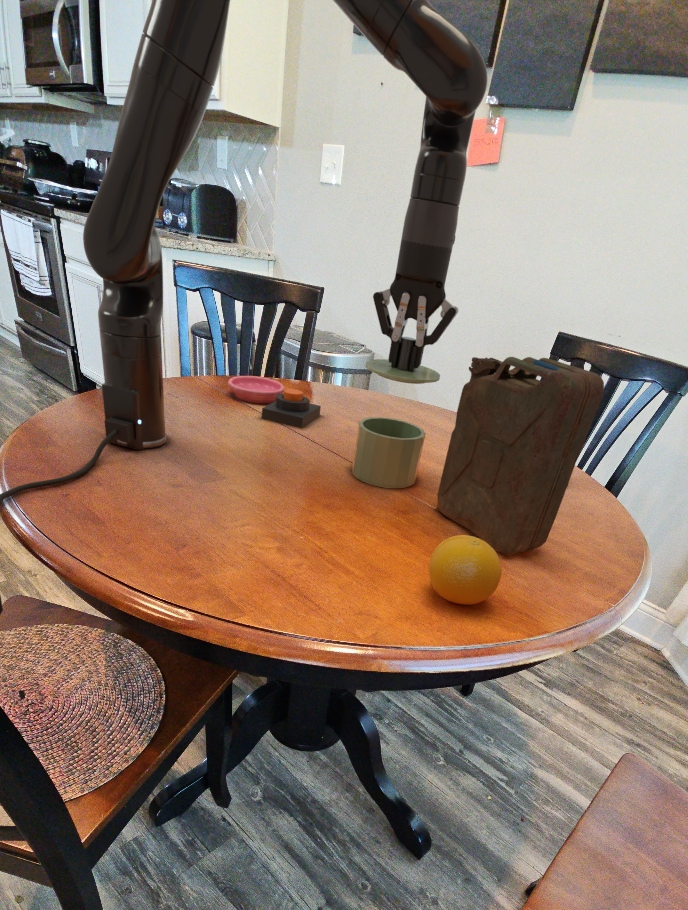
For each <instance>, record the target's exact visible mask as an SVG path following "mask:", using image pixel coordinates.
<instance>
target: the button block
mask: <svg viewBox="0 0 688 910" xmlns="http://www.w3.org/2000/svg"><path fill="white" fill-rule="evenodd" d="M283 397H284V392H283V394H278V395H276V401H275V402H272V403H268V404H267V405H265V406H263V407H262V408H261V420H266V421H270V422H273V423H278V424H282V425H287V426H289V427H294V428H299V429H303V428H305V427H306V426H307V425H309V424H310V423H312V422H313V421H315V420H316V419H318V418H319V417H320V416H321V407H322V406H321V405H319V404H314V403H311V400H310V399H309V397H306V396H304V395H303V399H302V401H298V402H297V401H289V400H286V399H283Z"/></svg>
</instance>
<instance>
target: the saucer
mask: <svg viewBox="0 0 688 910" xmlns="http://www.w3.org/2000/svg"><path fill="white" fill-rule="evenodd" d="M228 387H229V389H230V390H231V392H232V393H233V394H234V396H235V397H236V398H237V399H238V400H241V401H243V402H247V403H253V404H271V403H273V402H275V401H276V395H278V394H283V393H284V390H285V386H284V384H283V383H281V382H280V381H277V380H275V379H272V378H268V377H263V376H256V375H255V376H254V375H238V376H233V377H231V378H230V379H229V380H228Z"/></svg>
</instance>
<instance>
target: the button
mask: <svg viewBox="0 0 688 910" xmlns="http://www.w3.org/2000/svg"><path fill="white" fill-rule="evenodd" d="M283 393H284V397H283V399H286V400H289V401H297V402H298V401H302V399H303V396H304V392H303V390H300V389H297V388H284V392H283Z"/></svg>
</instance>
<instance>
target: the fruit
mask: <svg viewBox="0 0 688 910" xmlns="http://www.w3.org/2000/svg"><path fill="white" fill-rule="evenodd" d="M428 562H429V563H428V573H429V581H430V585H431V586H432V588H433V590H434V591H435V592H436V593H437V594H438V595H439V596H440V597H441V598H443V599H444V600H446V601H449V602H451V603H455V604H460V605H465V606H466V605H467V606H468V605H475V604H479V603H481V602H483V601H485V600H487V599H488V598H489V597H491V596H492V595H493V594H494V593H495V591H496V590H497V588H498V586H499V584H500V582H501V578H502V563H501V559H500V557H499V555H498V553H497V551H496V550H495V549H493V548H492V547H491V546H490V545H488V544H487V543H486V542H484V541H483V540H482V539H480V538H479V537H478V536H477V537H476V536H472V535H467V534H466V535H465V534H458V535H453V536H450V537H448V538H445V539H444V540H443V541H441V542H440V543H439V544H438V545H437V546H436V547H435V548H434V550H433V551H432V554H431V555H430V558H429V561H428Z"/></svg>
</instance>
